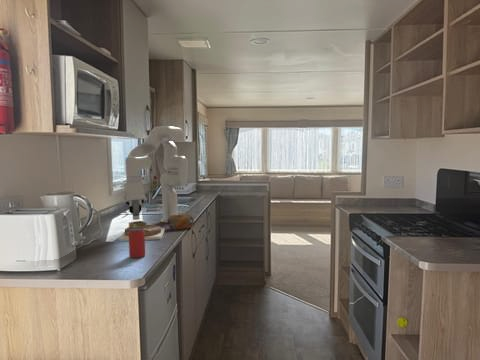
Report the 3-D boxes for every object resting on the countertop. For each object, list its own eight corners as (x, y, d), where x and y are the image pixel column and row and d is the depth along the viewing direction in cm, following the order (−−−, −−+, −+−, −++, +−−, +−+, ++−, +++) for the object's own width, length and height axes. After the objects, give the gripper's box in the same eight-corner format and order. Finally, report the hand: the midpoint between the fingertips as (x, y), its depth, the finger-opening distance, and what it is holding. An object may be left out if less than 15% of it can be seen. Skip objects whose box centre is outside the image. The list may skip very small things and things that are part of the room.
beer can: (147, 254, 156) (146, 227, 155) (143, 258, 150) (142, 230, 149) (131, 254, 156) (130, 227, 155) (127, 258, 150) (126, 230, 149)
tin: (167, 230, 206) (167, 215, 205) (167, 228, 209) (166, 214, 208) (193, 228, 210) (193, 213, 209) (193, 227, 213) (192, 213, 212)
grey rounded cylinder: (131, 218, 195) (131, 200, 194) (138, 217, 197) (137, 200, 196) (133, 220, 192) (133, 201, 191) (140, 219, 194) (139, 201, 193)
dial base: (127, 232, 202) (127, 229, 201) (165, 230, 204) (165, 227, 204) (118, 241, 181) (118, 237, 181) (160, 239, 183) (160, 236, 183)
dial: (118, 232, 193) (118, 224, 192) (150, 227, 206) (150, 219, 205) (134, 238, 179) (134, 229, 178) (167, 232, 191) (167, 223, 191)
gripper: (146, 177, 201) (148, 210, 203) (116, 180, 192) (118, 213, 194) (150, 178, 194) (152, 211, 196) (119, 181, 186) (121, 215, 188)
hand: (135, 212), depth 195 cm, fingers closed on grey rounded cylinder, 3 cm apart
